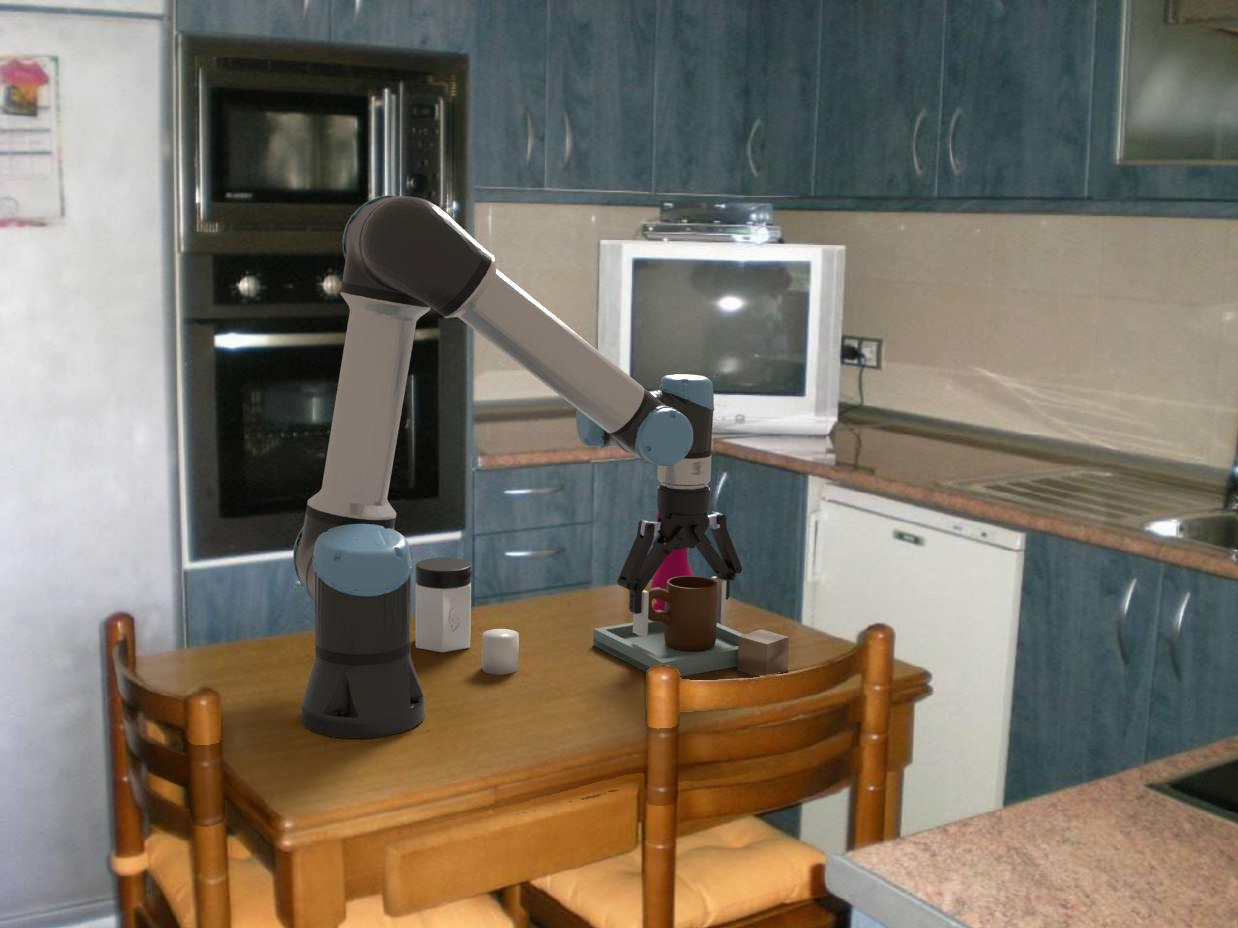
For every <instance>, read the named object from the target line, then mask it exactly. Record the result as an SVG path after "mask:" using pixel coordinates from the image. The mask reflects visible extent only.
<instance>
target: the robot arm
mask: <svg viewBox="0 0 1238 928" xmlns="http://www.w3.org/2000/svg"><path fill="white" fill-rule="evenodd" d="M341 242H342V252H343V257H344V259H345V263H344V268H343V275H342V283H341V288H340V296H341V297H342V299H344V301H345V302H346V304H347V305H348V308H349V314H348V321H347V329H346V334H345V340H344V345H343V352H342V359H341V366H340V371H339V377H338V384H337V391H336V396H335V404H334V409H333V415H332V420H331V421H332V422H331V429H330V434H329V441H328V447H327V453H326V460H325V465H324V470H323V471H324V472H323V479H322V485H321V489H320V490H319V491H318V492H317V493H316V494H314V495H312V497H310V498H309V499H307V504H306V510H305V516H304V522H303V526H302V528H301V529H300V531H299V532H298V535H297V536H296V539H295V541H294V546H293V552H292V553H293V554H292V555H293V557H292V559H293V561H292V562H293V567H294V572H295V575H296V577H297V579H298V581H299V583H300V585H301V586H302V587H303V588H304V589H305V591H306V593H307V594H308V596H309V597H310V599H311V601H312V603H313V606H314V642H315V643H314V647H315V648H314V651H315V655H314V657H315V658H314V663H313V666H312V669H311V672H310V675H309V678H308V682H307V684H306V687H305V692H304V694H303V697H302V701H301V722H302V724H303V725H304V726H305V727H306V728H307V729H309V730H310V731H312V732H314V733H317V734H321V735H324V736H329V737H334V738H345V739H369V738H379V737H386V736H391V735H396V734H399V733H403V732H405V731H408V730H412V729H413V728H414V727H416V726H418V725H419V724H420V723H422V722H423V720H424V719H425V715H426V714H425V709H426V707H425V696H424V693H423V692H424V691H423V690H422V686H421V683H420V681H419V678H418V675H417V672H416V670H415V666H414V662H413V660H412V656H411V578H412V577H411V572H412V569H413V565H412V564H413V561H412V558H411V550H410V545H409V542H408V540H407V538H406V537H405V536H404V535H403V534H402V533H400V532H398V531H396V529H395V524H396V518H397V512H396V511H395V509H394V508H393V507H392V505H391V503H390V502H389V500H388V496H389V489H390V483H391V477H392V471H393V464H394V459H395V453H396V446H397V442H398V441H397V440H398V436H399V435H398V434H399V429H400V423H401V417H402V411H403V410H402V409H403V405H404V399H405V398H404V397H405V394H406V393H405V392H406V386H407V380H408V375H409V373H408V372H409V368H410V362H411V358H412V357H411V356H412V350H413V344H414V338H415V333H416V326H417V322H418V321H419V319H420V318H421V317H422V316H424V315H425V314H426V313H428V312H430V311H431V309H433V310H434V311H436V312H437V313H439V314H440V315H442V317H444V318H445V319H450V318H458V319H460V320H461V321H463V323H465V324H466V325H468V326H469V327H470V328H471V329H472V330H474V331H475V332H476V333H478V335H480V336H482V337H483V338H484V339H485V340H487V341H488V342H490V343H491V344H492V345H493V346H495V347H496V348H497V349H499V351H501V352H503V353H504V354H505V355H506V356H508V357H509V358H510V359H511V360H512V361H514V362H516V363H517V364H518V365H519V366H521V367H522V368H523V369H524V370H526V371H527V372H529V373H530V374H531V375H532V376H534V377H535V378H536V379H538V380H539V381H540V382H542V384H544V385H545V386H546V387H548V388H549V389H550V390H551V391H553V392H554V393H556V394H557V395H558V396H560V397H561V398H562V399H563V400H565V401H566V402H567V403H568V404H570V405H572V407H574V408H575V409H576V413H575V414H576V415H575V423H576V431H577V436H578V437H579V439H580V441H581V443H582V444H583V445H585V446H586V447H599V448H602V449H604V448H605V447H616V448H618V449H620V450H622V451H625V453H626V452H627V453H629V454H632V455H634V456H635V457H638V458H640V459H641V460H643V461H644V462H646V463H647V464H649V465H655V466H657V480H658V481H659V482H660V483H659V485H658V486H657V491H656V492H657V493H656V494H657V496H656V497H657V499H656V501H657V502H656V507H657V513H658V512H659V517H658V520H657V519H656V521H648V520H645V519H641V520H639V522H638V524H637V525H638V527H637V531H636V532H637V533H636V537H635V540H634V541H633V544H632V546H631V548H630V550H629V553H628V555H627V558H626V560H625V563H624V565H623V566H622V569H621V572H620V574H619V576H618V579H617V581H616V582H617V586H620V587H623V588H624V589H627V590H628V591H629V595H628V596H629V598H628V599H629V602H628V609H629V611H630V612H631V614H632V623H633V633H635V634H637V635H639V636H642V637H648V620H649V619H648V603H649V592H647V591H648V590H645V589H646V587H647V586H648V584H649V583H650V581H652V580H653V577H654V575H655V573H656V571H657V570H658V568H659V567H660V565H661V564H662V563H663V561H664V560H665V558H666V557H667V555H669V554H671V553H672V552H673V550H674V549H675V550H682V549H684V548H688V549H695V548H696V549H697V550H698V552H699V553H700V555H702V557H703V558H704V560H705V561H706V563H707V564H708V566H710V567H711V569H712V571H713V572H714V573H715V574H716V576H711V577H710V579H712V580H714V581H716V582H717V589H718V608H717V623H719V624H721V625H724V624H726V623H725V622H726V603H727V602H726V600H729V598H730V588H731V581H734V580H735V579H736V574H737V575H738V574H741V573H742V572H743V567H742V564H741V562H740V558H739V556H738V554H737V551H736V548H735V547H734V544H733V540H732V539H731V537H730V534H729V531H728V526H727V524H728V523H727V516H726V515H725V514H723V513H721V512H716V511H711V512H710V514H708V512H709V511H710V506H711V488H710V486H709V485H708V484H709V483H710V482H711V480H712V478H711V476H712V442H713V424H714V422H713V420H714V411H715V405H714V403H715V401H714V395H715V394H714V386H713V382H712V380H711V379H709V377H706V376H704V375H698V374H683V373H682V374H681V373H680V374H668V375H664V376H663V377H662V378H661V380H660V384H659V387H658V389H655V390H647V389H646V388H644V387H643V385H641V384H640V383H639V382H638V381H636V380H635V379H634V378H633V377H631V376H630V375H629V374H628V373H626V372H625V371H624V370H623V369H621V368H620V367H619V366H618V365H616V363H614V362H613V361H612V360H610V359H609V358H608V357H606V355H604V354H603V353H601V352H600V351H599V350H598V349H597V348H595V347H594V346H593V345H591V344H590V343H589V342H588V341H587V340H585V338H583V337H582V336H580V335H579V334H578V333H577V332H576V331H574V330H573V329H572V328H570V327H569V326H568V325H567V324H566V323H564V322H563V321H562V320H561V319H559V318H558V317H557V316H556V315H555V314H553V313H552V312H550V311H549V309H547V308H546V307H545V306H543V305H541V303H539V302H538V301H537V300H536V299H534V298H533V297H532V296H531V295H529V294H528V293H527V292H526V291H524V289H522V288H521V287H520V286H518V285H517V284H516V283H514V282H513V281H512V280H510V278H508V277H507V276H506V275H504V273H502V272H501V271H499V270H498V269H497V268H496V261H495V256H494V255H493V254H492V253H491V252H490V251H488V250H487V249H486V248H484V247H483V245H481V244H480V243H478V242H477V241H476V240H475V239H474V237H472V236H471V235H470V234H469V233H468V232H467V231H466V230H465V229H463V228H462V226H460V225H459V224H458V223H457V222H456V221H455V220H453V218H452V217H451V216H450V215H448V213H446V212H445V211H444V210H443V209H442V208H440V207H439V206H437V205H436V204H434V203H432V202H431V201H430V200H426V199H423V198H422V197H415V196H402V195H392V194H391V195H388V194H387V195H383V196H378V197H374V198H372V199H370V200H368V201H366V202H365V203H363V204H362V205H361V206H360V207H359V208H357V209H356V210H355V211H354V213H352V215H351V216H350V218H349V220H348V221H347V222H346V225H345V228H344V231H343V234H342V241H341ZM709 528H710V531H711V534H712V536H713V538H714V541H715V544H716V546H717V549H718V552H717V551H716V549H715V548H714V546H713V545H712V541H710V539H709V537H708V536H707V535H706V531H707V530H708V529H709ZM657 533H658V534H657ZM656 536H657V537H656ZM654 537H656V538H655V540H654ZM664 542H665V544H666V545H663V544H664Z"/></svg>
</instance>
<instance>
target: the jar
mask: <svg viewBox="0 0 1238 928" xmlns="http://www.w3.org/2000/svg"><path fill="white" fill-rule="evenodd" d="M414 572H415V648H417V649H420V650H421V649H422V650H427V651H432V652H436V653H437V652H438V653H447V652H453V651H460V650H464V649H469V648H470V647H471V638H472V637H471V633H472V632H471V630H472V629H471V628H472V626H471V625H472V623H471V622H472V617H471V616H472V611H471V610H472V609H471V608H472V597H471V596H472V581H473V580H472V577H473V570H472V563H471V562H470V561H468V560H466V559H463V558H457V557H456V558H455V557H433V558H432V557H431V558H426V559H422V560H420V561H418V562H416V564H415V571H414Z"/></svg>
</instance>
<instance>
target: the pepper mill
mask: <svg viewBox="0 0 1238 928" xmlns="http://www.w3.org/2000/svg"><path fill="white" fill-rule="evenodd" d="M658 517H659V512H658V511H657V513H656V521H657V520H658ZM663 545H666V544H665V542H664V544H663ZM688 549H689V548H684V549H682V550H675V549H674V550H673V552H672V553H671V554H669V555H667V557H666V558H665V560H664V561H663V563H662V564H661V565H660V567H659V568H658V570H657V571H656V573H655V574H654V576H653V577H652V579H651V585H650V589H652V588H655V587H659V588H662V589H665V590H666V584H667V581H668V580H669V579H671V578H674V577H680V576H694V573H693V571H692V569H691V565H690V562H689V556H688ZM653 600H655V601H656V602H654V604H653V605H652V607H653V609H654V610H662V611H665V601H664V600H661V599H658V598H654V599H653Z"/></svg>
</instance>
